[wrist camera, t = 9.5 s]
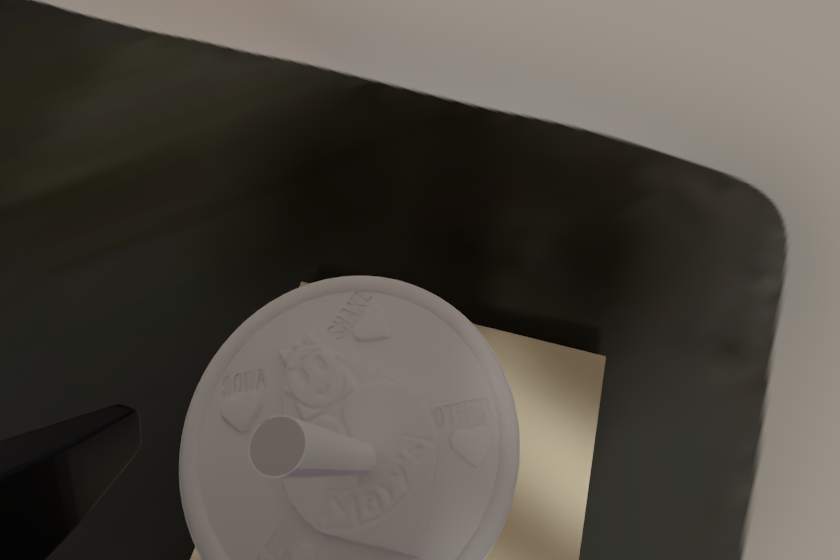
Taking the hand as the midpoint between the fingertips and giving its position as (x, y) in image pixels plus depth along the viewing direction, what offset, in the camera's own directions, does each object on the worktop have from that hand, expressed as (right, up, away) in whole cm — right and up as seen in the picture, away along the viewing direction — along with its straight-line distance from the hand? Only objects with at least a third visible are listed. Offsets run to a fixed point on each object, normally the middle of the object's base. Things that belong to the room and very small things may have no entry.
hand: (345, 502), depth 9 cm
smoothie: (+1, -2, +9) cm, 9 cm away
